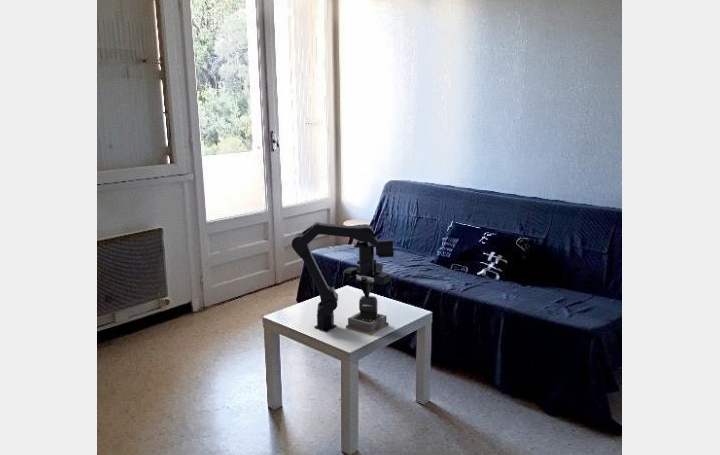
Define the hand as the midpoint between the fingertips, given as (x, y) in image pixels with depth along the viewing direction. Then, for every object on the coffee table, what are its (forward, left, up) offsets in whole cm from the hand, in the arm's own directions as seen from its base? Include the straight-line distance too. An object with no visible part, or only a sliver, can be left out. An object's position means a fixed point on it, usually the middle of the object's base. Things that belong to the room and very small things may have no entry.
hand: (367, 296), depth 224 cm
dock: (0, 0, -12) cm, 12 cm away
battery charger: (0, 0, -12) cm, 12 cm away
